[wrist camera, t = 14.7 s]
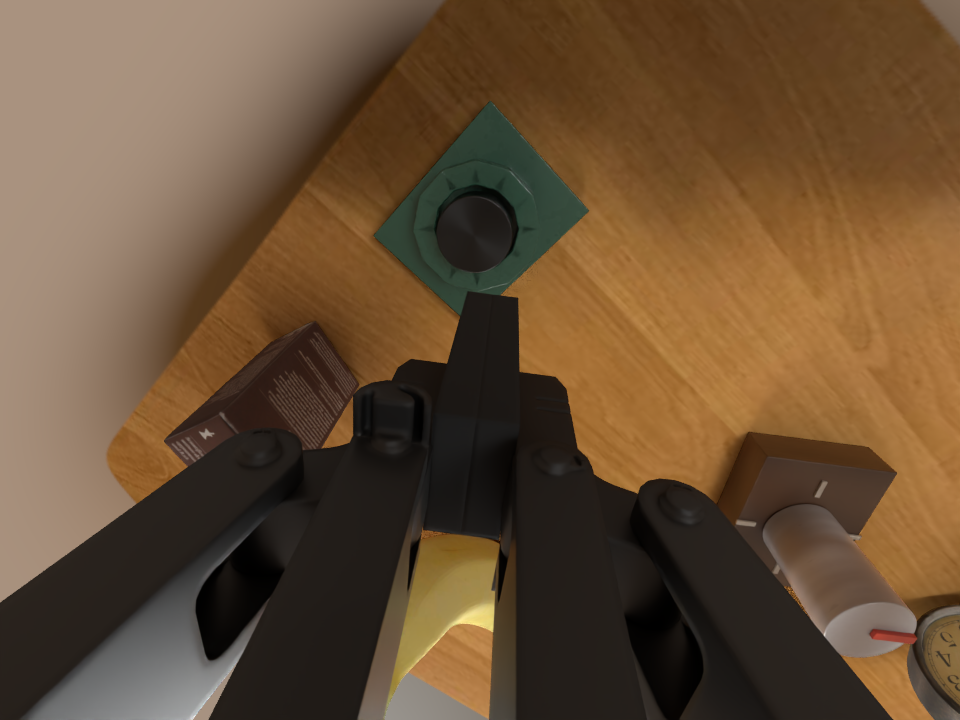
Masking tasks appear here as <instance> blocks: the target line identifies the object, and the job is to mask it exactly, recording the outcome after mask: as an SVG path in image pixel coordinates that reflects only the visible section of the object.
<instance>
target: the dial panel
mask: <svg viewBox="0 0 960 720" xmlns="http://www.w3.org/2000/svg"><path fill="white" fill-rule="evenodd" d="M896 475H897V472H896V471H894V470H893V469H892V468H891V467H890V466H889V465H888V464H887V463H886V462H884V461H883V460H882V459H881V458H880V457H879V456H878V455H877V454H876V453H874V452H873V451H872V450H871V449H870V448H869V447H862V446H854V445H846V444H839V443H831V442H823V441H815V440H807V439H799V438H791V437H784V436H776V435H768V434H760V433H752V432H749V433H748V435H747V437H746V439H745V442H744V444H743V446H742V448H741V451H740V453H739V455H738V458H737V460H736V462H735V465H734V467H733V469H732V472H731V474H730V476H729V478H728V481H727V483H726V485H725V488H724V490H723V492H722V495H721V497H720V499H719V502H718V504H717V506H718V507H719V508H720V510H721V511H722V512H723V513H724V515H725V516H726V517H727V518H728V519H729V521H730V522H731V523H732V524H733V526H734V527H735V528H736V529H737V530H738V532H739V533H740V534H741V535H742V536H743V538H744V539H745V540H746V541H747V543H748V544H749V545H750V546H751V547H752V549H753V550H754V551H755V552H756V554H757V555H758V556H759V557H760V558H761V560H762V561H763V562H764V563H765V564H766V566H767V567H768V568H769V569H770V571H771V572H772V573H773V574H774V575H775V577H776V578H777V579H778V580H779V582H780V583H781V584H782V585H783V586H788V587H791V585H790V584H789V582H788V580H787V579H786V577H785V575H784V574H783V572H782V570H781V569H780V567H779V565H778V564H777V562H776V560H775V559H774V557H773V556H772V554H771V552H770V551H769V549H768V547H767V546H766V544H765V542H764V540H763V529H764V526H765V524H766V523H767V521H768V520H769V519H770V518H771V517H772V516H773V515H774V514H776V513H777V512H779V511H781V510H783V509H785V508H787V507H790V506H794V505H800V504H812V505H817V506H820V507H823V508H825V509H826V510H828V511H829V512H830V513H831V514H832V515H833V516H834V518H835V519H836V520H837V521H838V522H839V524H840V525H841V526H842V527H843V528H844V530H845V531H846V532H847V533H848V535H849V536H850V537H851V538H852V539H853V541H855V540H860V539H861V537H862V536H861V535H859V533H860V532H861V530H862V529H863V527H864V526H865V524H866V522H867V521H868V519H869V518H870V516H871V514H872V513H873V511H874V510H875V508H876V506H877V505H878V503H879V502H880V500H881V498H882V497H883V495H884V494H885V492H886V491H887V489H888V487H889V486H890V484H891V483H892V481H893V479H894V478H895V476H896Z"/></svg>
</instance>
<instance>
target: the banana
mask: <svg viewBox="0 0 960 720" xmlns="http://www.w3.org/2000/svg"><path fill="white" fill-rule="evenodd" d="M499 547H500V544H499V543H497V542H495V541H492V540H490V539H487V538H480V537H473V536H466V535H458V534H443V535H437V536H432V537H428V538H425V539H422V540H421V542H420V553H419V557H418V562H417V567H416V571H415V576H414V580H413V585H412V590H411V594H410V599H409V603H408V608H407V613H406V617H405V622H404V626H403V631H402V635H401V640H400V645H399V649H398V654H397V658H396V663H395V668H394V672H393V677H392V681H391V686H390V691H389V695H388V700H387V704H386V709H385V713H384V718H385V714H386V710H387V708H388V705H389V702H390V701H391V699H392V696H393V694H394V692H395V690H396V688H397V686H398V684H399V683H400V681H401V679H402V678H403V677H404V676H405V674H406V673H407V672H408V671H409V670H410V669H411V668H412V667H413V666H414V665H415V664H416V663H417V662H418V661H419V660H420V659H421V658H422V657H423V656H424V655H425V654H426V653H427V652H428V651H429V650H430V649H431V648H432V647H433V646H434V645H435V644H436V643H437V641H438V640H439V639H440V638H441V637H442V636H443V635H444V634H445V633H446V632H447V631H448V630H449V629H450V628H451V627H452V626H454V625H458V624H465V623H466V624H472V625H477V626H480V627H483V628H485V629H488V630H490V631H492V632H493V626H494V604H495V591H491V589H492V583H493V578H494V573H495V568H496V562H497V557H498V552H499ZM384 718H383V720H384Z"/></svg>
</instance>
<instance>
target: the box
mask: <svg viewBox="0 0 960 720" xmlns="http://www.w3.org/2000/svg"><path fill="white" fill-rule="evenodd" d="M358 386H359V383H358V382H357V381H356V379H355V378H354V376H353V375H352V373H351V372H350V370H349V369H348V368H347V366H346V365H345V363H344V362H343V360H342V359H341V357H340V356H339V354H338V353H337V352H336V350H335V349H334V347H333V346H332V344H331V343H330V341H329V340H328V339H327V337H326V336H325V334H324V333H323V331H322V330H321V328H320V327H319V326H318V324H317V323H316V321H314V322H311V323H308V324H306V325H304V326H303V327H300V328H298V329H296V330H294V331H292V332H291V333H289V334H287V335H285V336H283V337H281V338H279V339H276V340H275V341H273V342H271V343H270V344H268V345H267V346H266V347H265V348H264V349H263V350H262V351H261V352H260V353H259V354H258V355H256V356H255V357H254V358H253V359H252V360H251V361H250V362H249V363H248V364H247V365H245V366H244V367H243V368H242V369H241V370H240V371H239V372H238V373H237V374H235V375H234V376H233V377H232V378H231V379H230V380H229V381H228V382H226V383H225V384H224V385H223V386H222V387H221V388H220V389H219V390H218V391H217V392H216V393H215V394H214V395H213V396H211V397H210V398H209V399H208V400H207V401H206V402H205V403H204V404H203V405H202V406H201V407H199V408H198V409H197V410H196V411H195V412H194V413H193V414H192V415H191V416H189V417H188V418H187V419H186V420H185V421H184V422H183V423H182V424H181V425H179V426H178V427H177V428H176V429H175V430H174V431H173V432H172V433H171V434H169V436H168V437H167V438H166V439H165V440H164V442H165V443H166V444H167V445H168V446H169V447H170V448H171V449H172V450H173V452H174V453H175V454H176V455H177V456H178V457H179V458H180V459H181V460H182V461H183V462H184V463H185V464H186V465H187V466H188V467H189V466H190V465H191V464H193V463H194V462H196V461H197V460H198V459H200V458H201V457H202V456H204V455H205V454H207V453H208V452H209V451H211V450H212V449H214V448H215V447H216V446H218V445H219V444H220V443H222V442H223V441H225V440H226V439H228V438H230V437H232V436H234V435H236V434H238V433H240V432H244V431H247V430H251V429H255V428H269V427H272V428H279V429H285V430H287V431H289V432H291V433H293V434H295V435H297V436H298V438H299V439H300V441H301V442H302V445H303V450H309V449H321V448H322V446H323V445H324V443H325V441H326V439H327V438H328V436H329V434H330V433H331V431H332V429H333V428H334V426H335V424H336V423H337V421H338V419H339V418H340V416H341V414H342V413H343V411H344V409H345V408H346V406H347V404H348V403H349V401H350V400H351V398H352V396H353V395H354V393H355V391H356V390H357V388H358Z"/></svg>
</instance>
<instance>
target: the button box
mask: <svg viewBox="0 0 960 720" xmlns="http://www.w3.org/2000/svg"><path fill="white" fill-rule="evenodd" d="M470 191H483V192H487V193H490V194H492V195H494V196H496V197H497V198H498V199H500V200H501V201H502V202H503V203H504V205H505V206H506V207H507V209H508V211H509V213H510V215H511V219H512V225H513V237H512V244H511V247H510V250H509V252H508V254H507V256H506V257H505V259H504V260H503V261H502V262H501V263H500V264H499V265H497V266H496V267H494V268H493V269H490V270H488V271H485V272H480V273H470V272H465V271H462V270H460V269H458V268H456V267H454V266H453V265H451V264H450V263H449V262H448V261H447V260H446V259H445V257H444V256H443V255H442V253H441V251H440V249H439V246H438V242H437V236H436V230H437V224H438V221H439V218H440V216H441V214H442V213H443V211H444V210H445V209H446V207H447V206H448V205H449V204H450V202H451V201H452V200H454V199H455V198H456V197H457V196H459V195H461V194H463V193H466V192H470ZM588 211H589V210H588V209H587V208H586V207H585V205H584V204H583V203H582V202H581V201H580V200H579V199H578V198H577V197H576V195H575V194H574V193H573V192H572V191H571V190H570V189H569V188H568V186H567V185H566V184H565V183H564V182H563V181H562V180H561V179H560V178H559V176H558V175H557V174H556V173H555V172H554V171H553V170H552V169H551V167H550V166H549V165H548V164H547V163H546V162H545V161H544V160H543V159H542V157H541V156H540V155H539V154H538V153H537V152H536V151H535V150H534V149H533V147H532V146H531V145H530V144H529V143H528V142H527V141H526V140H525V138H524V137H523V136H522V135H521V134H520V133H519V132H518V131H517V130H516V128H515V127H514V126H513V125H512V124H511V123H510V122H509V121H508V119H507V118H506V117H505V116H504V115H503V114H502V113H501V112H500V111H499V109H498V108H497V107H496V106H495V105H494V104H493V103H492V102H491V101H489V102H488V104H487V105H486V106H485V107H484V108H483V109H482V110H481V112H480V113H479V114H478V115H477V116H476V117H475V119H474V120H473V121H472V122H471V123H470V124H469V126H468V127H467V128H466V129H465V130H464V131H463V132H462V134H461V135H460V136H459V137H458V138H457V139H456V141H455V142H454V143H453V144H452V145H451V146H450V148H449V149H448V150H447V151H446V152H445V153H444V154H443V156H442V157H441V158H440V159H439V160H438V161H437V163H436V164H435V165H434V166H433V167H432V168H431V170H430V171H429V172H428V173H427V174H426V175H425V176H424V178H423V179H422V180H421V181H420V182H419V183H418V185H417V186H416V187H415V188H414V189H413V190H412V192H411V193H410V194H409V195H408V196H407V197H406V198H405V200H404V201H403V202H402V203H401V204H400V205H399V207H398V208H397V209H396V210H395V211H394V212H393V214H392V215H391V216H390V217H389V218H388V219H387V220H386V222H385V223H384V224H383V225H382V226H381V227H380V229H379V230H378V231H377V232H376V233H375V234H374V237H375V238H376V239H377V240H379V241H380V242H381V243H382V244H383V245H384V246H385V247H386V248H387V249H388V250H389V251H390V252H391V253H393V254H394V255H395V256H396V257H397V258H398V259H399V260H400V261H401V262H402V263H403V264H404V265H406V266H407V267H408V268H409V269H410V270H411V271H412V272H413V273H414V274H415V275H416V276H417V277H418V278H420V279H421V280H422V281H423V282H424V283H425V284H426V285H427V286H428V287H429V288H430V289H431V290H433V291H434V292H435V293H436V294H437V295H438V296H439V297H440V298H441V299H442V300H443V301H444V302H445V303H447V304H448V305H449V306H450V307H451V308H452V309H453V310H454V311H455V312H456V313H457V314H458V315H460V316H461V313H462V309H463V305H464V302H465V298H466V295H467V291H470V292H478V293H485V294H492V295H501V294H502V293H503V292H504V291H505V290H506V289H507V288H508V287H509V286H510V285H511V284H512V283H513V282H514V281H515V280H517V279H518V278H519V277H520V276H521V275H522V274H523V273H524V272H525V271H526V270H527V269H528V268H529V267H530V266H531V265H532V264H533V263H535V262H536V261H537V260H538V259H539V258H540V257H541V256H542V255H543V254H544V253H545V252H546V251H547V250H548V249H549V248H550V247H551V246H553V245H554V244H555V243H556V242H557V241H558V240H559V239H560V238H561V237H562V236H563V235H564V234H565V233H566V232H567V231H568V230H569V229H571V228H572V227H573V226H574V225H575V224H576V223H577V222H578V221H579V220H580V219H581V218H582V217H583V216H584V215H585V214H586V213H587V212H588Z"/></svg>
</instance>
